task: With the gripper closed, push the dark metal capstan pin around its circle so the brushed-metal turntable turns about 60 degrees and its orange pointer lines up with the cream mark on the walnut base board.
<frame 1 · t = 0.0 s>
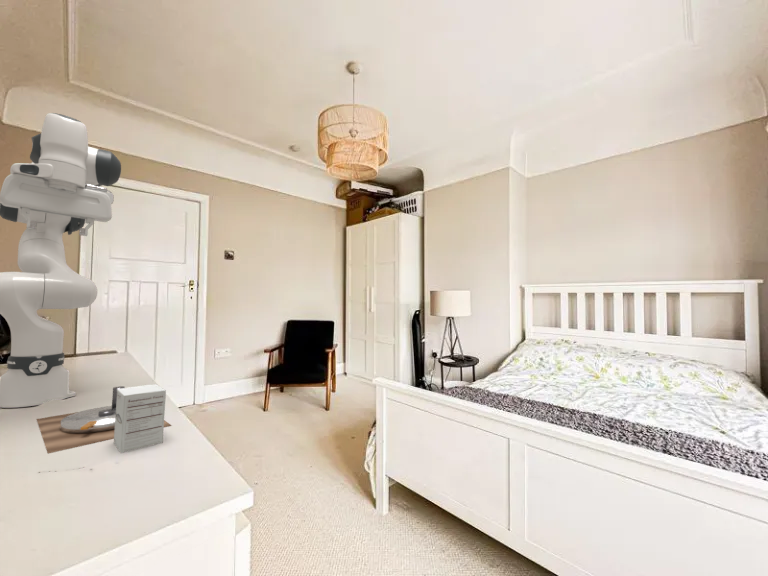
hand: (58, 232, 84), 48 cm above the dresser top, fingers open, 8 cm apart
supplement box: (137, 450, 70), on the dresser top
base board: (102, 428, 81), on the dresser top
dial: (104, 408, 80), point 5 cm above the dresser top, hinge at 0.0°
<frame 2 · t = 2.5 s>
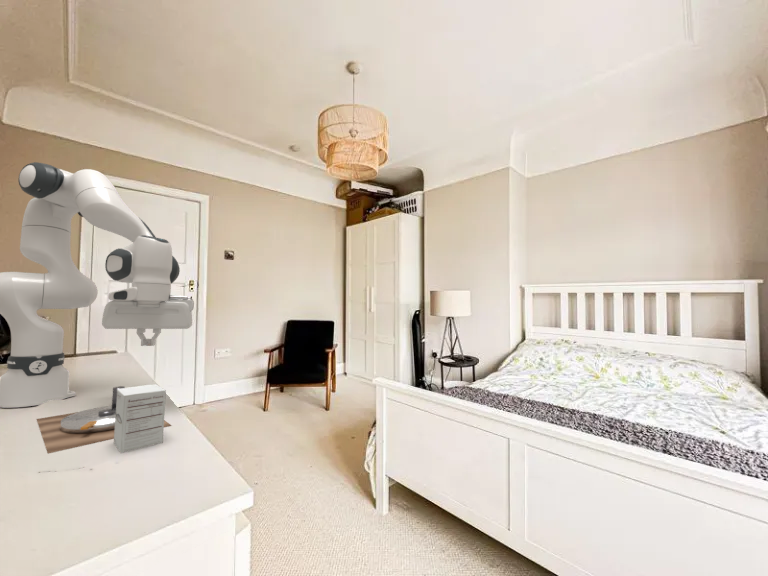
hand: (148, 345, 90), 19 cm above the dresser top, fingers closed
nothing on the dresser top moved.
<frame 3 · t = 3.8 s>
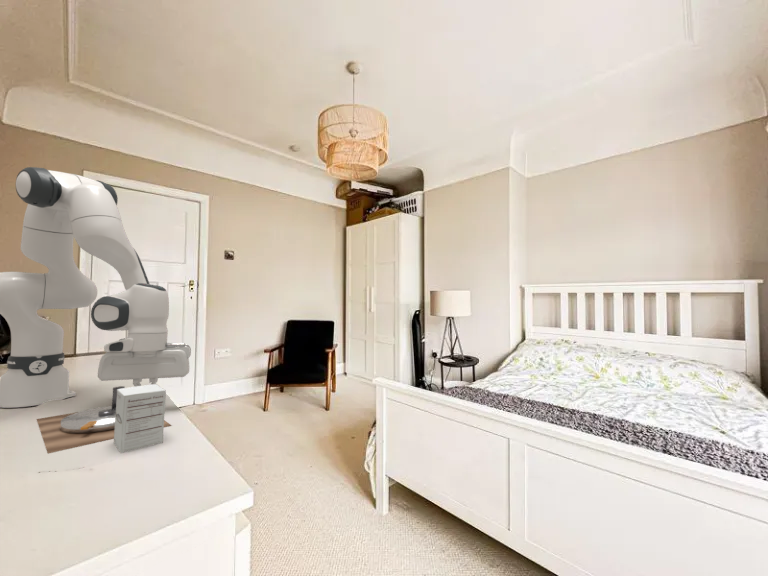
hand: (144, 395, 89), 6 cm above the dresser top, fingers closed
nothing on the dresser top moved.
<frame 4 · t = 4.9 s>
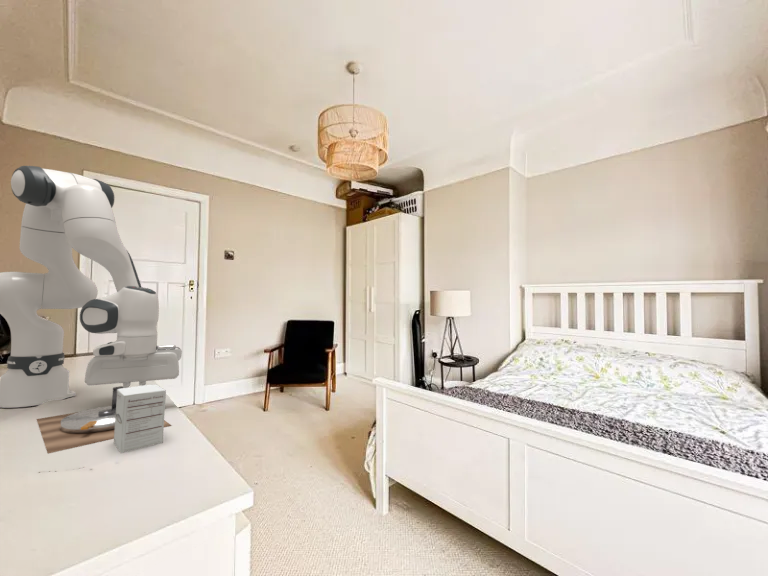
hand: (133, 398, 89), 5 cm above the dresser top, fingers closed
dial: (104, 408, 80), point 5 cm above the dresser top, hinge at 0.1°, touching gripper
everything else where it was.
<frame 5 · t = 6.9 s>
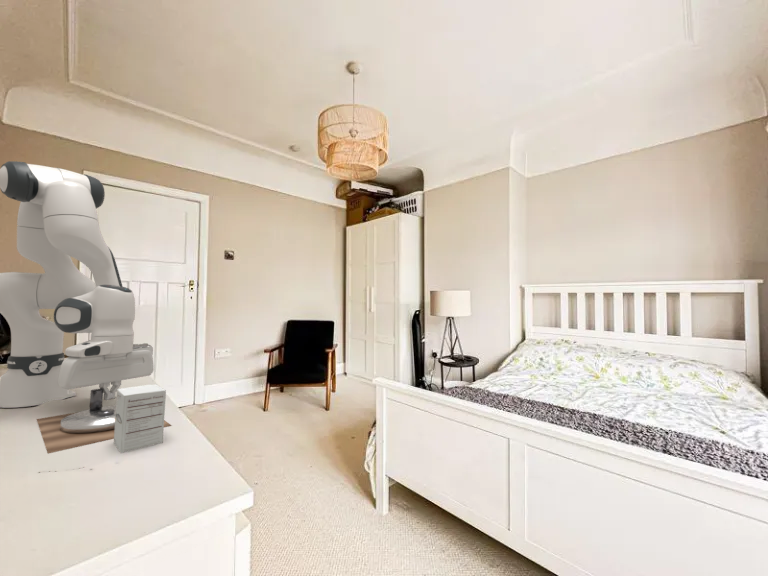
hand: (109, 399, 87), 5 cm above the dresser top, fingers closed
dial: (108, 408, 81), point 5 cm above the dresser top, hinge at 39.1°, touching gripper
everything else where it was.
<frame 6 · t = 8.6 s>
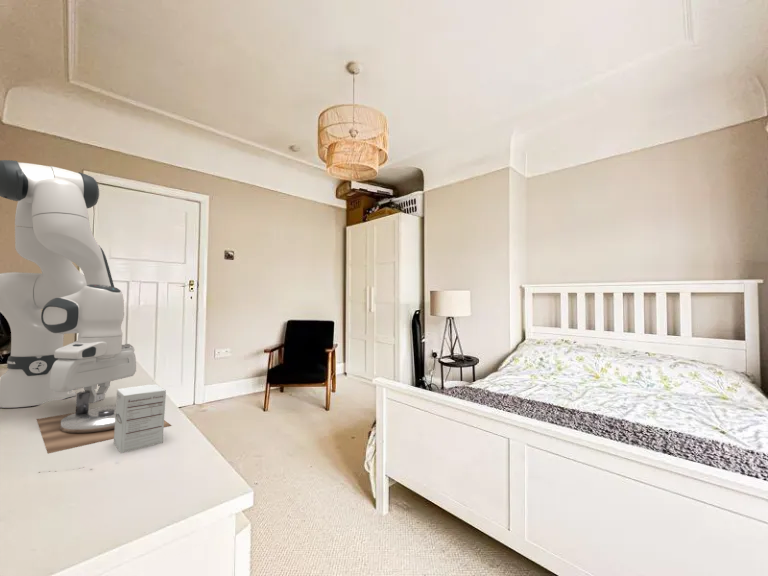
hand: (96, 401, 86), 5 cm above the dresser top, fingers closed
dial: (111, 407, 81), point 5 cm above the dresser top, hinge at 65.8°
everything else where it was.
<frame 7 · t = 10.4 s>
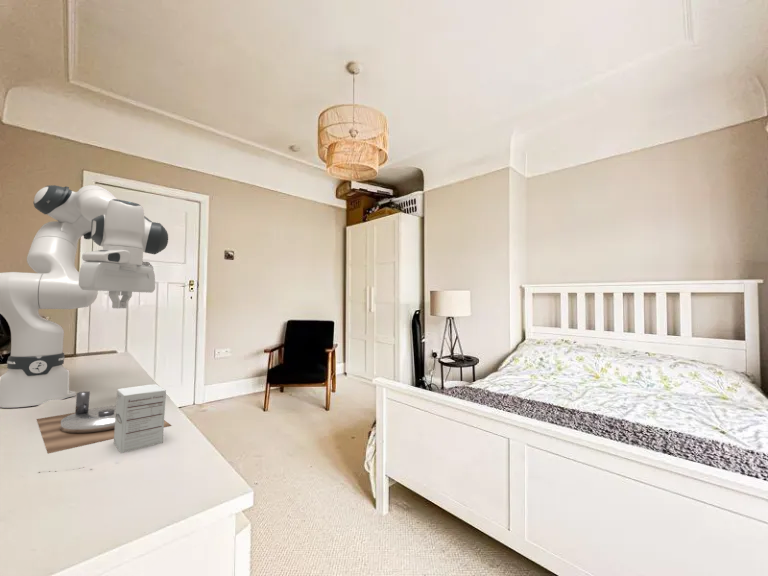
hand: (119, 308, 91), 29 cm above the dresser top, fingers closed
nothing on the dresser top moved.
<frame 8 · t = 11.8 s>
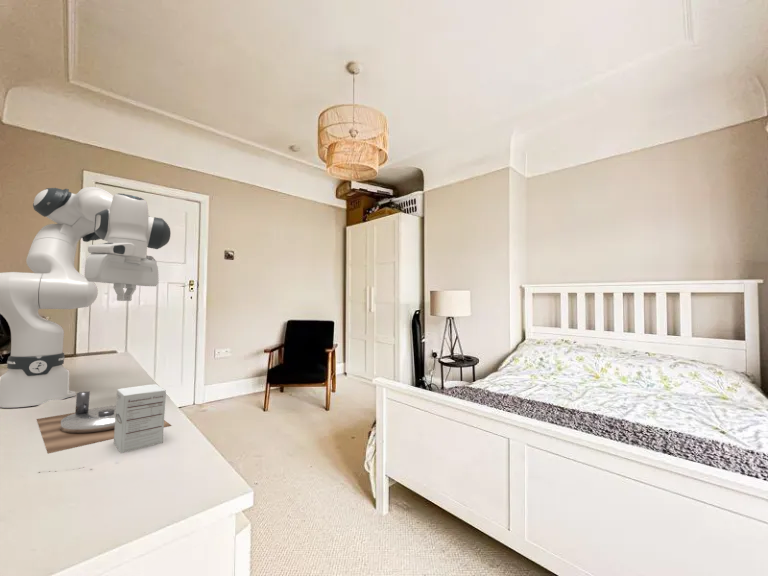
hand: (124, 300, 92), 31 cm above the dresser top, fingers closed
nothing on the dresser top moved.
at the end: dial at +66° (first picture: +0°); supplement box moved 0.3 cm from its start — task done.
